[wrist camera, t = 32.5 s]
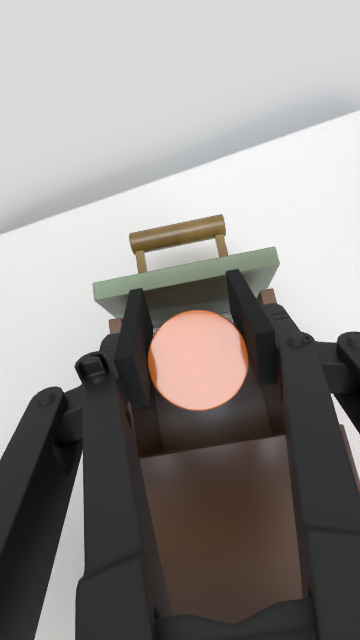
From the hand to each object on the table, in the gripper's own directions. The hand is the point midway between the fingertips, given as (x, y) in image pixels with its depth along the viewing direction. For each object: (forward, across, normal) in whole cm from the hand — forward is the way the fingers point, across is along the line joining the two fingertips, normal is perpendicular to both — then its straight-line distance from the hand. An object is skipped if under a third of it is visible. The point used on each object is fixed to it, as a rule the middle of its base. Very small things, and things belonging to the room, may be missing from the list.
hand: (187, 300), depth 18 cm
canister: (+3, 0, +8) cm, 8 cm away
